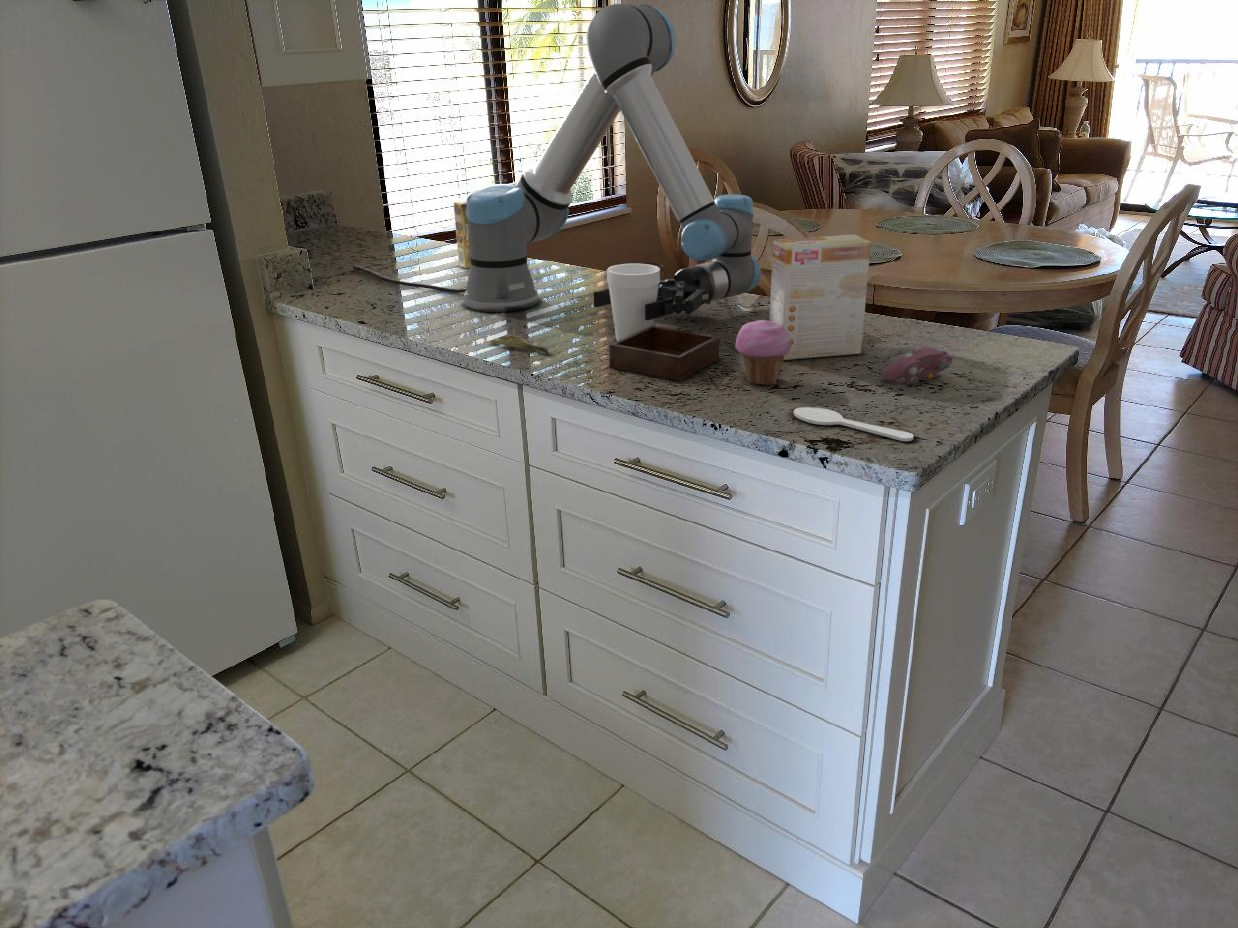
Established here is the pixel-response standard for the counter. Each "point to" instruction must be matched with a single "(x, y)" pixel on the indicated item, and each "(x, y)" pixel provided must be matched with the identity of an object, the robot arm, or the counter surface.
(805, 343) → the coffeecake box
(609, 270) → the foam cup
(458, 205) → the candy box
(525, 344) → the olive green tapered piece
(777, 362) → the cupcake
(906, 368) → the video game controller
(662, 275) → the cup and saucer
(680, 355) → the wooden tray
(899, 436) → the spoon
